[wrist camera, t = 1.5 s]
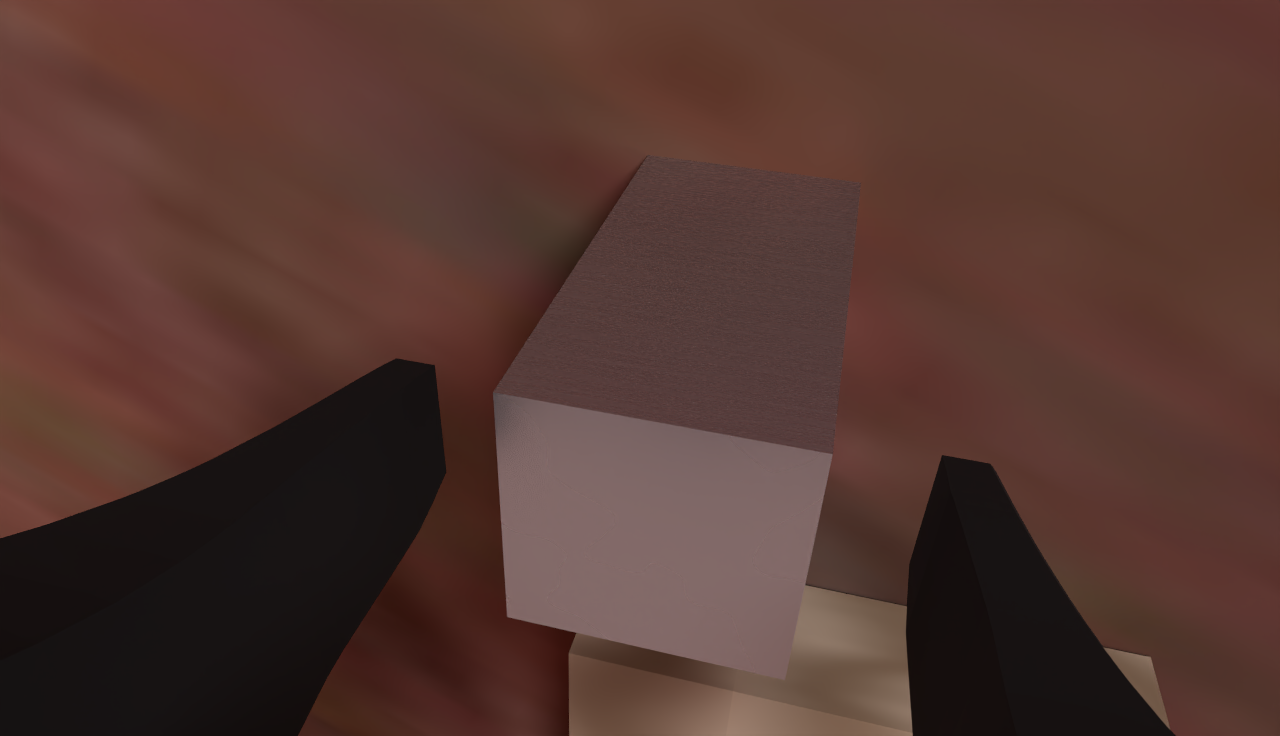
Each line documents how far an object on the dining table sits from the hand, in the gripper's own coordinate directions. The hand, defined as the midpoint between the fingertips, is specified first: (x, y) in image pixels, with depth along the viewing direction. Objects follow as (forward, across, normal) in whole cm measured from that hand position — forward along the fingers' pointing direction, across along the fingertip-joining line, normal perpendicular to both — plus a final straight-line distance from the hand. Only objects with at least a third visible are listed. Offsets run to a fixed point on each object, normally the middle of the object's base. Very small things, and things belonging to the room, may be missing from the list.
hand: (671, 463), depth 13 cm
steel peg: (+6, 0, 0) cm, 6 cm away
